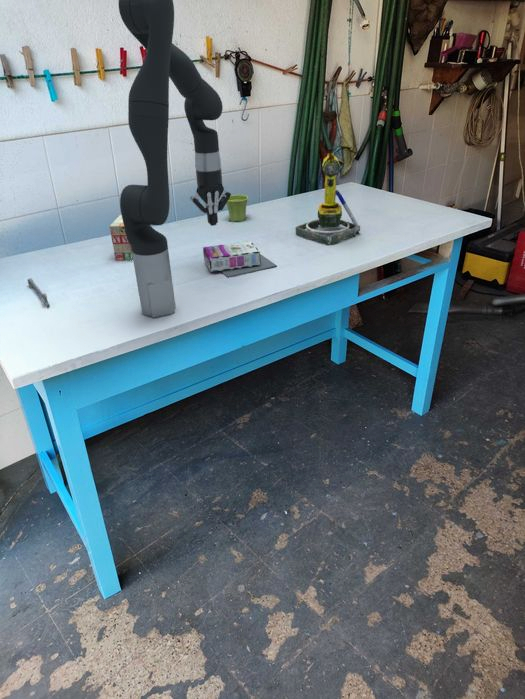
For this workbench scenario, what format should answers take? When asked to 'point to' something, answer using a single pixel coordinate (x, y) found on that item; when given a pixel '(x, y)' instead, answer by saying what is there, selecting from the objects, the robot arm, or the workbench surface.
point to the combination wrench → (33, 285)
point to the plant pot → (237, 207)
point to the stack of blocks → (120, 241)
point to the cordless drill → (330, 210)
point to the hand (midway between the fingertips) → (213, 224)
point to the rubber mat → (250, 268)
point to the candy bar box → (231, 256)
